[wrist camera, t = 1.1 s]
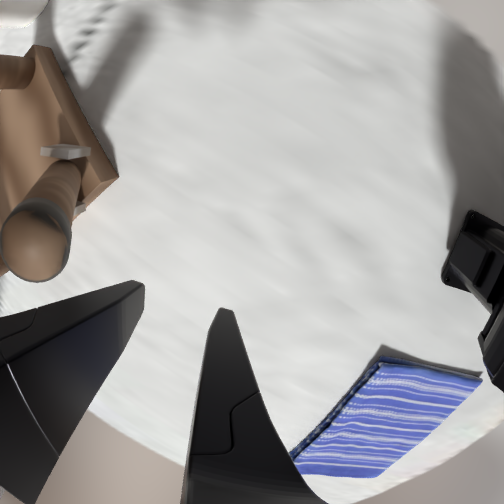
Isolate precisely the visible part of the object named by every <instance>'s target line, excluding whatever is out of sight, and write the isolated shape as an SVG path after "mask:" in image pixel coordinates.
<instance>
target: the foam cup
mask: <svg viewBox="0 0 504 504" xmlns="http://www.w3.org/2000/svg"><path fill="white" fill-rule="evenodd" d="M48 2H49V0H0V28H25V27H26V26H28V25H29V24H31V23H32V22H33V21H34V20H35V19H36V18H37V17H38V16H39V15H40V14H41V13H42V11H43V9H44V8H45V6H46V5H47V3H48Z"/></svg>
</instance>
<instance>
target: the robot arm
mask: <svg viewBox="0 0 504 504" xmlns="http://www.w3.org/2000/svg"><path fill="white" fill-rule="evenodd" d="M473 214H474V217H473V218H472V215H473ZM447 277H448V279H447V280H446V278H447ZM441 279H442V282H443V283H444V284H445V285H448V286H451V287H454V288H458V289H461V290H464V291H467V292H470V293H472V294H473V295H474V296H475V297H476V298H477V299H478V300H479V301H480V302H481V303H482V305H483V306H484V307H485V308H486V309H487V310H488V311H489V312H490V314H491V316H490V318H489V320H488V322H487V323H486V325H485V327H484V329H483V331H481V332H480V334H479V336H478V341H479V344H480V348H481V351H482V354H483V362H484V364H485V366H486V368H487V372H488V375H489V377H490V380H491V382H492V384H494V385H495V386H496V387H498V388H499V389H500V390H502V391H503V392H504V226H502V225H500V224H498V223H496V222H495V221H493V220H491V219H489V218H487V217H486V216H484V215H482V214H480V213H478V212H476V211H474V210H470V211H469V212H468V214H467V216H466V219H465V222H464V225H463V227H462V230H461V233H460V235H459V237H458V240H457V243H456V245H455V247H454V250H453V252H452V255H451V257H450V259H449V262H448V264H447V266H446V268H445V271H444V273H443V275H442V278H441ZM144 299H145V285H144V284H143V283H140V282H137V281H134V280H130V281H126V282H123V283H119V284H116V285H113V286H109V287H106V288H102V289H99V290H95V291H92V292H89V293H85V294H82V295H78V296H75V297H71V298H68V299H65V300H61V301H58V302H54V303H51V304H48V305H44V306H41V307H38V308H34V309H31V310H27V311H24V312H20V313H17V314H13V315H9V316H4V317H0V499H1V497H2V495H3V493H4V492H5V490H6V491H8V492H9V493H10V494H12V495H13V496H14V497H16V498H17V499H19V500H20V501H22V502H23V503H24V504H35V502H36V500H37V498H38V496H39V494H40V492H41V490H42V489H43V486H44V485H45V483H46V481H47V479H48V477H49V475H50V473H51V472H52V470H53V468H54V466H55V464H56V462H57V460H58V459H59V456H60V454H61V453H62V451H63V449H64V448H65V446H66V444H67V442H68V441H69V439H70V437H71V435H72V434H73V432H74V430H75V428H76V427H77V425H78V423H79V421H80V420H81V418H82V417H83V415H84V413H85V411H86V410H87V408H88V407H89V405H90V403H91V402H92V400H93V398H94V397H95V395H96V394H97V392H98V390H99V389H100V387H101V386H102V384H103V382H104V381H105V379H106V378H107V376H108V374H109V373H110V371H111V370H112V368H113V367H114V365H115V364H116V362H117V360H118V359H119V357H120V356H121V354H122V352H123V351H124V349H125V347H126V345H127V343H128V341H129V339H130V337H131V335H132V333H133V331H134V329H135V327H136V325H137V323H138V321H139V319H140V317H141V315H142V313H143V310H144ZM259 392H260V390H259V387H258V384H257V381H256V379H255V376H254V373H253V370H252V367H251V364H250V361H249V358H248V355H247V352H246V349H245V346H244V342H243V339H242V336H241V333H240V330H239V327H238V324H237V321H236V318H235V314H234V312H233V311H232V310H229V309H225V308H219V309H218V311H217V313H216V315H215V317H214V320H213V322H212V324H211V326H210V328H209V331H208V335H207V340H206V345H205V350H204V355H203V361H202V366H201V371H200V377H199V382H198V388H197V394H196V400H195V406H194V412H193V418H192V425H191V431H190V438H189V444H188V451H187V458H186V465H185V472H184V479H183V486H182V494H181V501H180V504H328V503H327V502H325V501H324V500H322V499H321V498H320V497H318V496H317V495H316V494H315V493H314V492H313V491H312V490H311V489H310V487H309V486H308V485H307V484H306V482H305V481H304V479H303V477H302V476H301V474H300V472H299V471H298V469H297V467H296V466H295V464H294V462H293V460H292V459H291V457H290V455H289V453H288V452H287V450H286V448H285V446H284V444H283V443H282V441H281V439H280V437H279V435H278V433H277V431H276V429H275V427H274V425H273V423H272V421H271V419H270V417H269V414H268V412H267V409H266V407H265V404H264V401H263V398H262V396H261V393H259Z"/></svg>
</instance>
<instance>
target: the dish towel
mask: <svg viewBox="0 0 504 504" xmlns="http://www.w3.org/2000/svg"><path fill="white" fill-rule="evenodd" d="M482 381H483V380H482V379H481V378H478V377H476V376H473V375H469V374H465V373H461V372H456V371H453V370H448V369H443V368H438V367H434V366H431V365H426V364H421V363H417V362H412V361H408V360H403V359H399V358H394V357H387V356H380V359H379V361H378V362H377V363H375V364H374V365H373V366H372V367H371V368H370V369H369V370H367V372H366V373H365V375H364V376H363V377H362V378H361V380H360V381H359V382H358V383H357V384H356V386H354V387H353V389H352V390H351V391H350V393H349V394H348V395H347V396H346V397H345V398H344V399H343V400H342V401H341V402H340V404H339V405H338V406H337V407H336V408H335V410H334V411H333V412H332V413H331V414H329V415H328V416H327V418H326V419H325V420H324V421H323V422H322V423H321V424H320V425H319V426H317V428H316V429H315V430H314V431H313V432H312V433H311V434H310V435H309V436H308V437H306V439H304V440H303V441H302V442H301V443H300V444H299V445H297V446H296V448H295V449H294V450H292V451H291V452H290V453H289V455H290V457H291V459H292V460H293V462H294V464H295V466H296V467H297V469H298V471H299V472H300V474H318V475H326V476H334V477H352V478H374V477H377V476H379V475H380V474H381V473H382V472H384V471H385V470H386V469H387V468H389V467H390V466H391V465H392V464H393V463H395V462H396V461H398V460H399V459H400V458H401V457H402V456H403V455H405V454H406V453H407V452H409V451H410V450H411V449H412V448H414V447H415V446H416V445H418V444H419V443H420V442H421V441H422V440H423V439H424V438H426V437H427V436H428V435H429V434H430V433H431V432H432V431H433V430H434V429H435V428H437V427H438V426H439V425H440V424H441V423H442V422H443V421H444V420H445V419H446V418H447V417H448V416H449V415H450V414H451V413H452V412H453V411H454V410H455V409H456V408H457V407H458V406H459V405H460V404H461V403H462V402H463V401H464V400H465V399H466V398H468V397H469V396H470V395H471V394H472V393H473V391H474V390H475V389H476V388H477V387H478V386H479V385H480V384H481V383H482Z"/></svg>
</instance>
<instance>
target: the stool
mask: <svg viewBox="0 0 504 504" xmlns="http://www.w3.org/2000/svg"><path fill="white" fill-rule="evenodd" d="M1 89H2V90H1ZM0 90H1V91H0V231H1V228H2V226H3V223H4V222H5V220H6V219H7V217H8V216H9V215H10V213H11V212H12V210H13V209H14V208H15V207H16V206H17V205H18V204H19V203H21V202H22V200H23V199H24V197H25V196H26V195H27V193H28V192H29V191H30V190H31V188H32V187H33V186H34V184H35V183H36V182H37V181H38V179H39V178H40V177H41V176H42V174H43V173H44V172H45V171H46V170H47V169H48V167H49V166H50V165H51V164H52V163H54V162H55V161H58V160H62V159H66V160H70V161H72V162H74V163H75V164H76V165H77V166H78V168H79V170H80V172H81V185H80V189H79V193H78V197H77V202H76V206H75V211H74V216H73V220H74V219H75V218H76V217H77V216H78V215H79V214H80V213H82V212H84V211H86V207H87V206H88V205H89V204H90V203H91V202H93V201H94V200H95V199H96V198H97V197H98V196H99V195H100V194H101V193H102V192H103V191H104V190H105V189H106V188H107V187H109V186H110V185H111V184H112V183H113V182H114V181H115V180H116V179H118V178H119V176H118V175H117V173H116V171H115V170H114V168H113V166H112V165H111V163H110V161H109V159H108V158H107V156H106V154H105V153H104V151H103V149H102V147H101V146H100V144H99V142H98V140H97V139H96V137H95V135H94V133H93V131H92V130H91V128H90V126H89V124H88V122H87V120H86V119H85V117H84V115H83V113H82V111H81V109H80V107H79V105H78V103H77V102H76V100H75V98H74V96H73V94H72V92H71V90H70V88H69V86H68V84H67V82H66V80H65V78H64V76H63V74H62V72H61V69H60V67H59V65H58V63H57V61H56V59H55V57H54V54H53V52H52V50H51V48H48V47H43V46H38V45H32V47H31V48H30V49H29V51H28V52H27V53H26V54H25V56H24V57H20V56H11V55H0ZM8 271H10V270H9V269H8V267H7V266H6V265H5V263H4V261H3V259H2V257H1V254H0V277H1V276H2V275H4V274H5V273H7V272H8Z"/></svg>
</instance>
